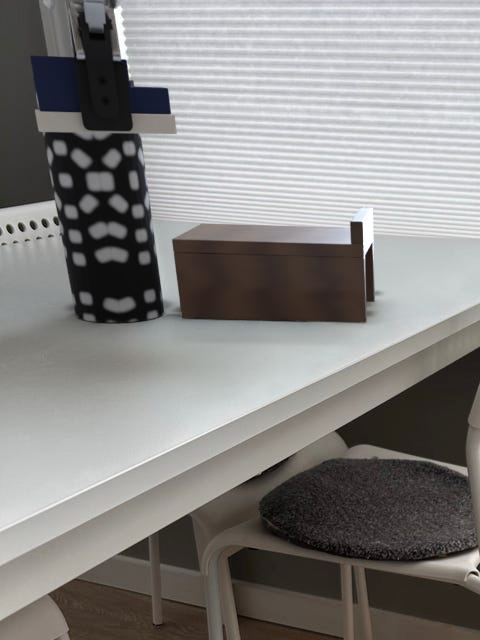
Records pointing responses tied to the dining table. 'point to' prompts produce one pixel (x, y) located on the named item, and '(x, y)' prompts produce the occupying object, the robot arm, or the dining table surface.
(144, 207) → the spotted tube
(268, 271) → the wooden storage chest
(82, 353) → the dining table surface
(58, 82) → the trainer
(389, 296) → the dining table surface
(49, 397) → the dining table surface
